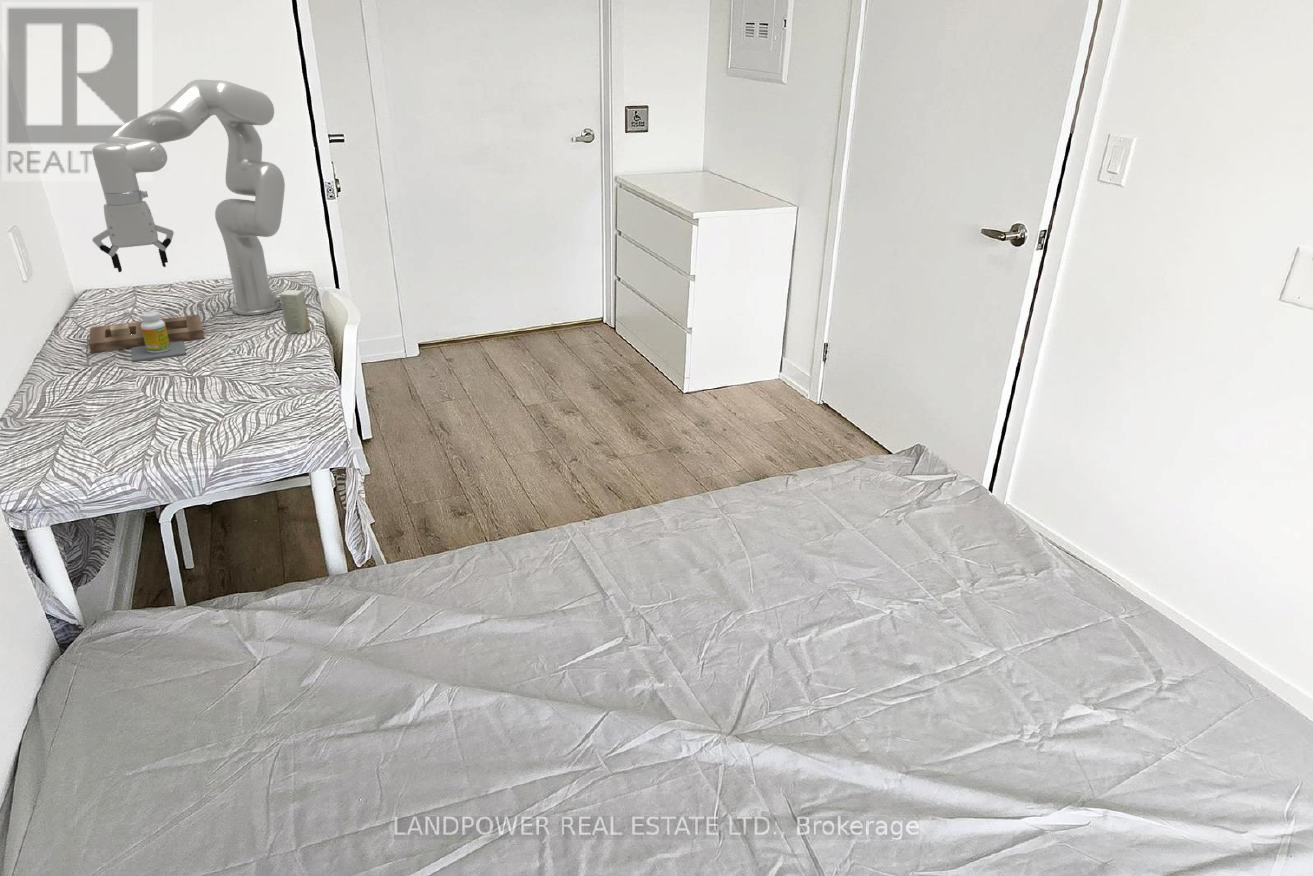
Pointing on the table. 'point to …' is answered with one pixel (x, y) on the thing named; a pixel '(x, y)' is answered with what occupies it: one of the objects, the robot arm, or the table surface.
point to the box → (294, 311)
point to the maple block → (120, 330)
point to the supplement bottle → (154, 333)
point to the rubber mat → (143, 354)
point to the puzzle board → (175, 327)
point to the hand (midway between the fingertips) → (142, 268)
